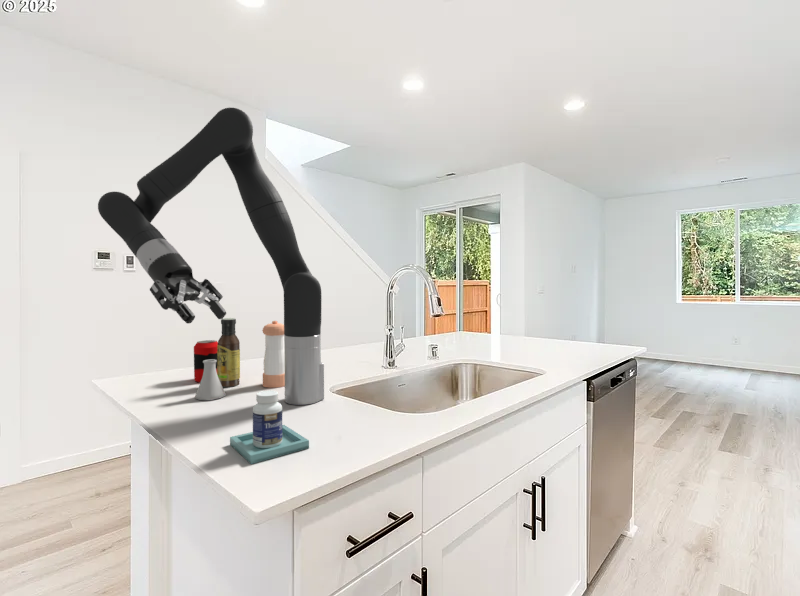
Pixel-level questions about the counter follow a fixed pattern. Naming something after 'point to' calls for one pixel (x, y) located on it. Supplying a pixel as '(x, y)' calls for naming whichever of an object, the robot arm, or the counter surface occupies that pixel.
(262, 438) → the pill bottle
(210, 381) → the flask
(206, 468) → the counter surface
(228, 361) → the sauce bottle
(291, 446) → the tray
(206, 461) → the counter surface
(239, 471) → the counter surface
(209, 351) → the soda can
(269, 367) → the salt shaker
